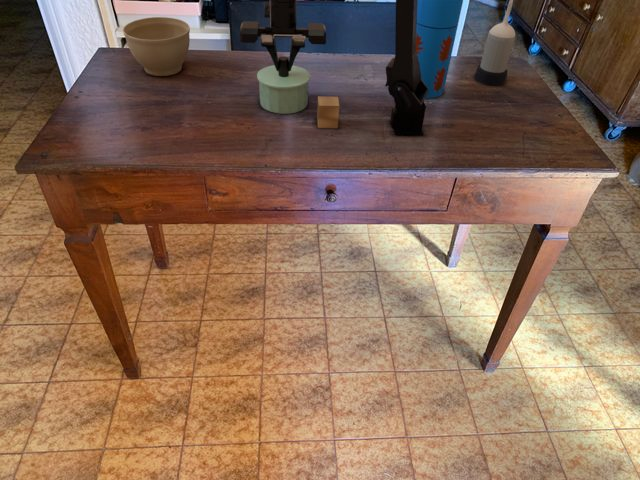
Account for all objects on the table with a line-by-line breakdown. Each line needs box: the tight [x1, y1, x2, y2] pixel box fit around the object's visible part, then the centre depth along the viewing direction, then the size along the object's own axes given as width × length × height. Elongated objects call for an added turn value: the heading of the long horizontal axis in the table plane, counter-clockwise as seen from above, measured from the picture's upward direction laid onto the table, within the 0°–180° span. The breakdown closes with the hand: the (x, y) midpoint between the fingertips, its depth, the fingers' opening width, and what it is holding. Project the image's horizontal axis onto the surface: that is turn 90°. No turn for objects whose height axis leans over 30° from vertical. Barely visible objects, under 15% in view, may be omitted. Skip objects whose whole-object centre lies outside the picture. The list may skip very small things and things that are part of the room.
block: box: [316, 95, 340, 129], centre depth 113 cm, size 4×4×6 cm
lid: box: [256, 55, 311, 89], centre depth 116 cm, size 12×12×5 cm
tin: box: [258, 81, 309, 115], centre depth 120 cm, size 11×11×6 cm
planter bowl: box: [122, 16, 191, 77], centre depth 130 cm, size 16×16×11 cm
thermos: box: [416, 0, 464, 99], centre depth 122 cm, size 11×11×25 cm
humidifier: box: [474, 0, 516, 87], centre depth 129 cm, size 8×8×25 cm
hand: (283, 70), depth 116 cm, fingers closed on lid, 2 cm apart
